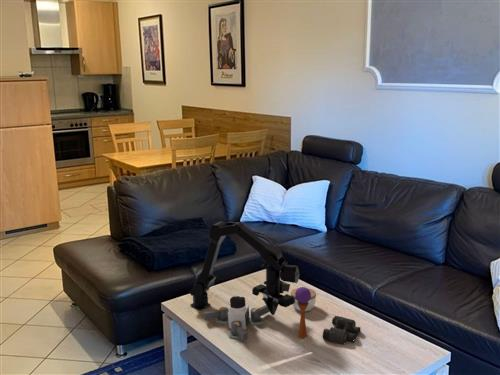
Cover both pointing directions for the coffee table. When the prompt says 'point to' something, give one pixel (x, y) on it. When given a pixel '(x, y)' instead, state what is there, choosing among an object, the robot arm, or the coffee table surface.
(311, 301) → the white bowl
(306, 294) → the kendama
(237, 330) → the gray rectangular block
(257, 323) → the tribrach plate
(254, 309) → the foot screw
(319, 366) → the coffee table surface
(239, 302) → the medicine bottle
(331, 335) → the binoculars
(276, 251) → the robot arm
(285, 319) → the coffee table surface
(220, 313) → the foot screw
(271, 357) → the coffee table surface
